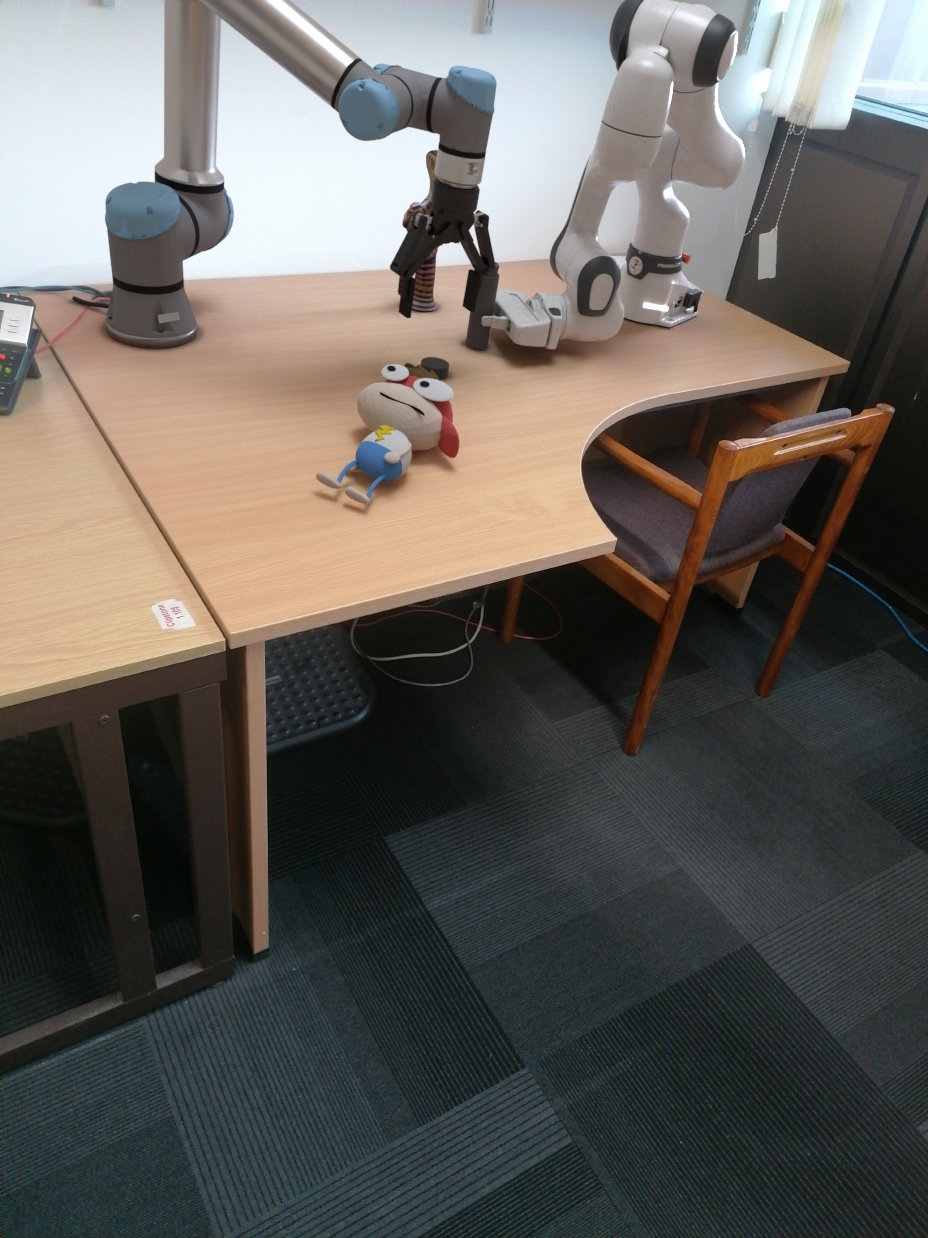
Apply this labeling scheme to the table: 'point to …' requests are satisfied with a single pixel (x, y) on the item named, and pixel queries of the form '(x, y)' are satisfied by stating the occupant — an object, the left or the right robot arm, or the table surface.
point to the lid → (436, 366)
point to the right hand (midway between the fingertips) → (477, 313)
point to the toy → (399, 425)
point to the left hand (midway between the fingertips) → (437, 311)
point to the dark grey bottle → (483, 311)
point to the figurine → (427, 270)
